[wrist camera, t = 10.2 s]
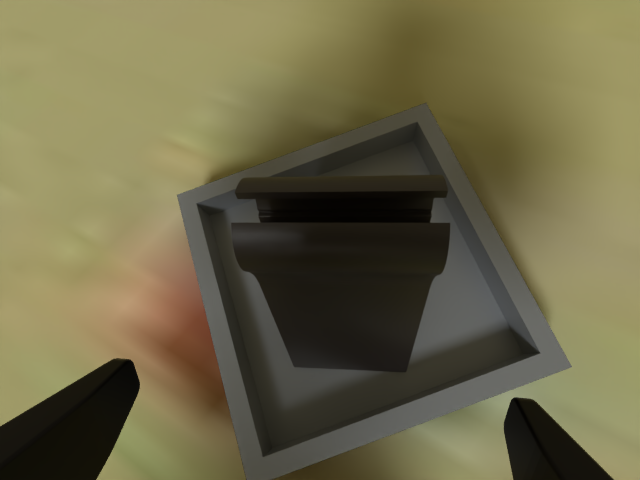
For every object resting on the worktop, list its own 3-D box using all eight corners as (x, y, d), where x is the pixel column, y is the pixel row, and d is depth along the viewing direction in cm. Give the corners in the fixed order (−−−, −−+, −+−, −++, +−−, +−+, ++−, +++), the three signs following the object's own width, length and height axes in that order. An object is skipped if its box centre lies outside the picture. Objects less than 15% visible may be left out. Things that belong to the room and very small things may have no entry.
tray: (542, 366, 20) (571, 366, 17) (264, 470, 20) (248, 488, 17) (419, 131, 25) (426, 102, 23) (197, 213, 25) (177, 195, 22)
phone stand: (405, 372, 20) (461, 389, 9) (294, 367, 21) (210, 374, 9) (402, 215, 23) (442, 69, 11) (304, 215, 23) (248, 76, 12)
